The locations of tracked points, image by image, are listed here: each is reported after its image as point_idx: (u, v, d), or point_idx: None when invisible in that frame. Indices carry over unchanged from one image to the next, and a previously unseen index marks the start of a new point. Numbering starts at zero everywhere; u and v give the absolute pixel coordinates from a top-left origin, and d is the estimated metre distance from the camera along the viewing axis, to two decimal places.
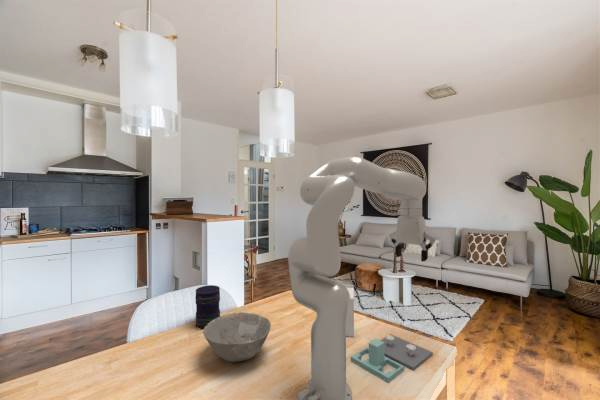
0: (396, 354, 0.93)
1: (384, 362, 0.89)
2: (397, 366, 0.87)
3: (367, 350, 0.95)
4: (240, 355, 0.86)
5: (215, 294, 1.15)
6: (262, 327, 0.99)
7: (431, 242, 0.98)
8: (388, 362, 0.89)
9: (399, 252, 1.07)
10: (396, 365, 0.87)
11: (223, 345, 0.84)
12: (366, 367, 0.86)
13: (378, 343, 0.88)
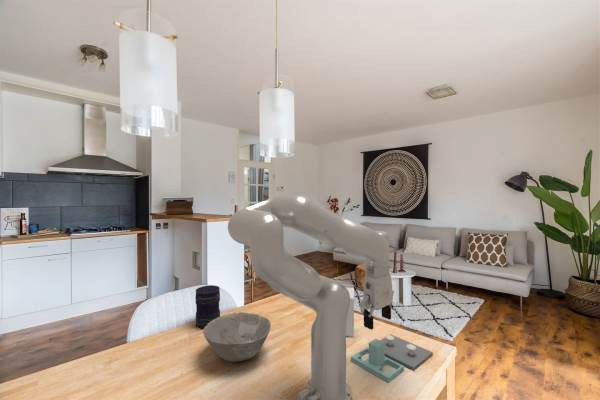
0: (396, 354, 0.93)
1: (384, 362, 0.89)
2: (397, 366, 0.87)
3: (367, 350, 0.95)
4: (240, 355, 0.86)
5: (215, 294, 1.15)
6: (262, 327, 0.99)
7: None
8: (388, 362, 0.89)
9: None
10: (396, 365, 0.87)
11: (223, 345, 0.84)
12: (366, 367, 0.86)
13: (378, 343, 0.88)
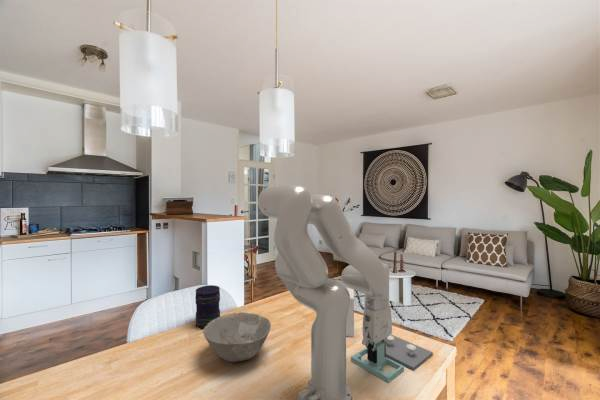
0: (396, 354, 0.93)
1: (384, 362, 0.89)
2: (397, 366, 0.87)
3: None
4: (240, 355, 0.86)
5: (215, 294, 1.15)
6: (262, 327, 0.99)
7: None
8: (388, 362, 0.89)
9: None
10: (396, 365, 0.87)
11: (223, 345, 0.84)
12: (366, 367, 0.86)
13: (378, 343, 0.88)
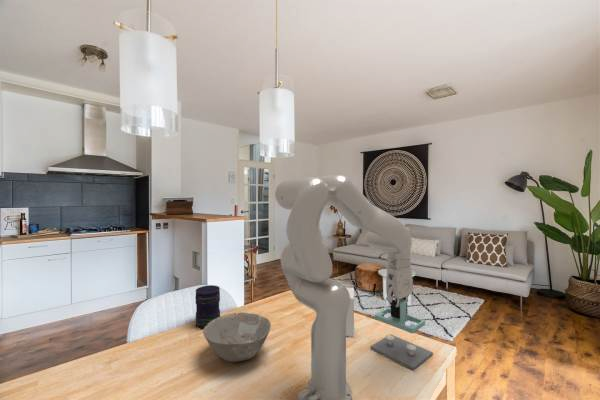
0: (396, 354, 0.93)
1: (406, 318, 0.95)
2: (419, 321, 0.93)
3: (389, 310, 1.02)
4: (240, 355, 0.86)
5: (215, 294, 1.15)
6: (262, 327, 0.99)
7: None
8: (409, 319, 0.96)
9: None
10: (418, 320, 0.94)
11: (223, 345, 0.84)
12: (390, 322, 0.93)
13: (400, 300, 0.94)
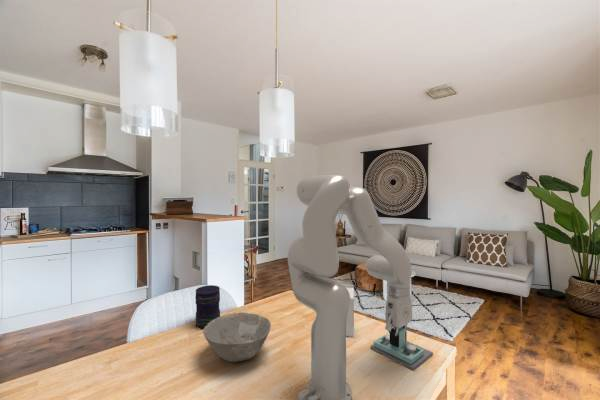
0: None
1: (405, 346, 0.95)
2: (418, 350, 0.93)
3: None
4: (240, 355, 0.86)
5: (215, 294, 1.15)
6: (262, 327, 0.99)
7: None
8: None
9: None
10: (417, 349, 0.93)
11: (223, 345, 0.84)
12: (389, 351, 0.93)
13: (399, 328, 0.94)
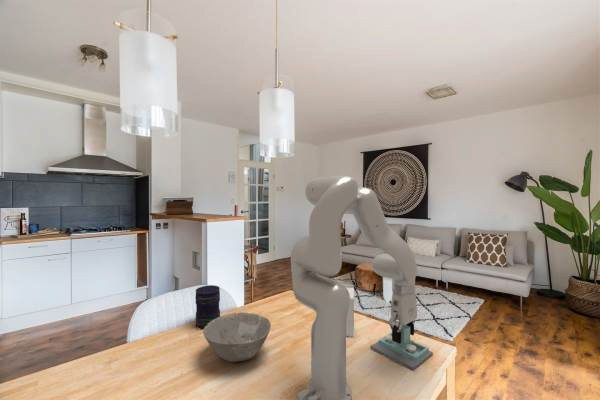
0: (396, 354, 0.93)
1: None
2: (422, 348, 0.95)
3: None
4: (240, 355, 0.86)
5: (215, 294, 1.15)
6: (262, 327, 0.99)
7: None
8: None
9: None
10: (421, 347, 0.95)
11: (223, 345, 0.84)
12: (394, 348, 0.95)
13: (404, 327, 0.96)
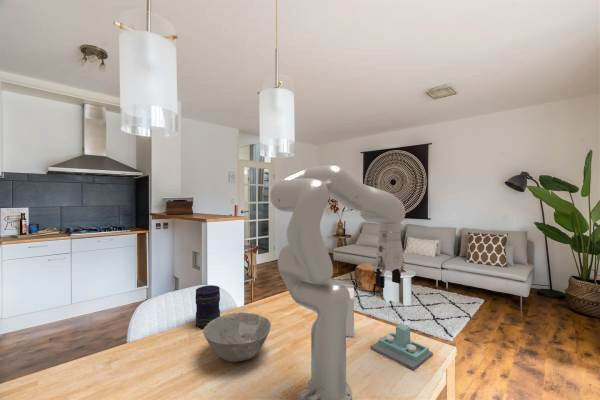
0: (396, 354, 0.93)
1: None
2: (422, 348, 0.95)
3: (392, 335, 1.04)
4: (240, 355, 0.86)
5: (215, 294, 1.15)
6: (262, 327, 0.99)
7: None
8: None
9: None
10: (421, 347, 0.95)
11: (223, 345, 0.84)
12: (394, 348, 0.95)
13: (404, 327, 0.96)
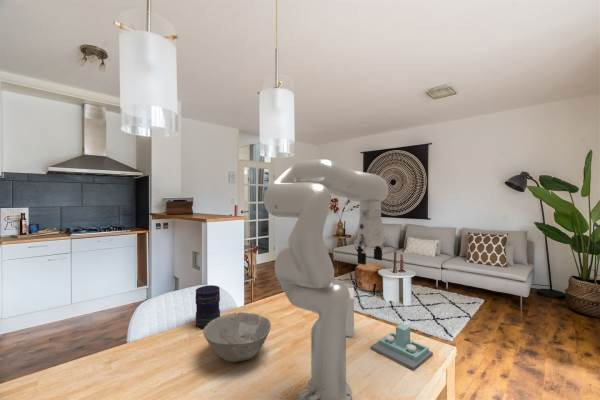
0: (396, 354, 0.93)
1: None
2: (422, 348, 0.95)
3: (392, 335, 1.04)
4: (240, 355, 0.86)
5: (215, 294, 1.15)
6: (262, 327, 0.99)
7: (383, 240, 1.05)
8: None
9: None
10: (421, 347, 0.95)
11: (223, 345, 0.84)
12: (394, 348, 0.95)
13: (404, 327, 0.96)
